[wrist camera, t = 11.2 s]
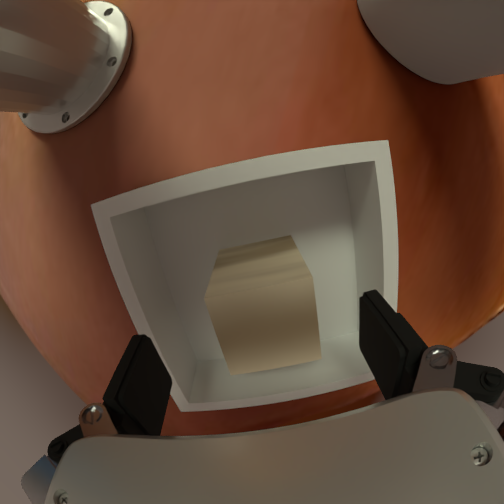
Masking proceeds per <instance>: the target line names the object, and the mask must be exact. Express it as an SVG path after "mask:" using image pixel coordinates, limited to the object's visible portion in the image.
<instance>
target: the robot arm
mask: <svg viewBox="0 0 504 504" xmlns="http://www.w3.org/2000/svg"><path fill="white" fill-rule="evenodd" d="M131 43H132V30H131V26H130V22H129V20H128V18H127V16H126V15H125V13H124V12H123V11H122V10H121V9H120V8H119V7H117V6H116V5H114V4H112V3H110V2H105V1H91V2H86V3H83V2H81V1H80V0H0V111H4V112H18V115H19V117H20V119H21V120H22V122H23V123H24V124H25V125H26V126H27V127H28V128H29V129H31V130H33V131H35V132H38V133H58V132H62V131H66V130H68V129H70V128H72V127H74V126H76V125H77V124H79V123H80V122H81V121H83V120H84V119H86V118H87V117H88V116H89V115H90V114H91V113H92V112H94V111H95V110H96V109H97V108H98V107H99V106H100V104H101V103H102V102H103V101H104V100H105V98H106V97H107V96H108V95H109V93H110V92H111V90H112V89H113V87H114V86H115V84H116V83H117V81H118V79H119V77H120V75H121V73H122V72H123V70H124V67H125V64H126V62H127V59H128V56H129V52H130V48H131ZM359 347H360V351H361V353H362V354H363V356H364V358H365V360H366V362H367V364H368V366H369V368H370V370H371V372H372V374H373V376H374V378H375V380H376V382H377V384H378V386H379V388H380V390H381V392H382V394H383V395H384V398H385V401H382V402H379V403H376V404H373V405H369V406H366V407H363V408H360V409H357V410H353V411H349V412H345V413H342V414H338V415H334V416H331V417H327V418H322V419H318V420H314V421H309V422H305V423H300V424H295V425H290V426H284V427H278V428H272V429H265V430H258V431H250V432H241V433H231V434H218V435H200V436H160V434H161V429H162V425H163V421H164V416H165V412H166V408H167V404H168V400H169V396H170V391H171V387H172V378H171V376H170V374H169V372H168V371H167V369H166V367H165V365H164V363H163V361H162V359H161V358H160V356H159V354H158V352H157V350H156V348H155V346H154V344H153V342H152V340H151V338H150V337H147V336H146V335H145V334H142V335H134V336H133V337H132V338H131V340H130V342H129V344H128V346H127V348H126V350H125V352H124V354H123V356H122V358H121V360H120V362H119V364H118V366H117V368H116V370H115V372H114V375H113V377H112V379H111V381H110V383H109V385H108V387H107V389H106V392H105V394H104V396H103V398H102V399H103V400H104V402H103V404H101V403H91V404H89V405H87V406H86V407H84V408H83V410H82V411H81V412H80V415H79V423H80V424H79V425H77V426H76V427H74V428H73V429H71V430H69V431H67V432H66V433H64V434H62V435H60V436H59V437H57V438H55V439H54V440H52V442H51V443H50V444H49V446H48V456H46V455H44V456H43V457H41V458H40V460H38V461H37V462H36V463H35V464H34V465H33V466H32V467H31V468H30V469H29V470H28V471H27V472H26V473H25V474H24V475H23V477H22V480H21V485H22V488H23V489H24V491H25V493H26V494H27V496H28V498H29V499H30V501H31V502H32V504H504V373H503V372H502V371H501V370H499V369H497V368H494V367H488V366H482V365H476V364H471V363H465V362H460V361H457V356H456V354H455V352H454V351H453V350H452V349H451V348H449V347H447V346H444V345H435V346H431V347H429V348H428V346H427V345H426V344H425V343H424V341H423V340H422V339H421V338H420V336H419V335H418V334H417V333H416V332H415V330H414V329H413V328H412V327H411V325H410V324H409V323H408V322H407V321H406V319H405V318H404V317H403V316H402V315H401V314H400V313H396V312H395V311H394V310H393V308H392V307H391V306H390V305H389V304H388V302H387V301H386V300H385V299H384V298H383V297H382V295H381V294H380V293H379V292H378V291H377V290H376V289H374V290H370V291H367V292H364V293H363V296H361V297H360V298H359Z"/></svg>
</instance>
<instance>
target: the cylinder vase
mask: <svg viewBox="0 0 504 504" xmlns="http://www.w3.org/2000/svg"><path fill="white" fill-rule="evenodd" d="M357 3H358V7H359V10H360V13H361V15H362V17H363V19H364V21H365V23H366V25H367V26H368V28H369V29H370V31H371V32H372V34H373V35H374V37H375V38H376V39H377V40H378V42H379V43H380V44H381V45H382V46H383V47H384V48H385V49H386V50H387V51H388V52H389V53H390V54H391V55H392V56H393V57H394V58H395V59H396V60H397V61H399V62H400V63H401V64H402V65H404V66H405V67H406V68H408V69H409V70H411V71H412V72H414V73H415V74H417V75H419V76H421V77H423V78H425V79H427V80H430V81H433V82H436V83H440V84H456V83H460V82H465V81H469V80H473V79H478V78H483V77H488V76H493V75H499V74H504V0H357Z"/></svg>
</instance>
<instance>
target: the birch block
mask: <svg viewBox="0 0 504 504" xmlns="http://www.w3.org/2000/svg"><path fill="white" fill-rule="evenodd" d="M204 300H205V303H206V306H207V309H208V312H209V315H210V318H211V321H212V324H213V327H214V330H215V333H216V336H217V338H218V341H219V344H220V347H221V350H222V352H223V355H224V358H225V361H226V363H227V366H228V369H229V371H230V374H231V375H237V374H244V373H251V372H258V371H264V370H270V369H275V368H281V367H286V366H291V365H296V364H301V363H306V362H310V361H315V360H319V359H322V357H321V346H320V335H319V326H318V316H317V307H316V299H315V291H314V283H313V277H312V275H311V273H310V271H309V269H308V267H307V265H306V263H305V261H304V259H303V257H302V255H301V254H300V252H299V250H298V248H297V246H296V244H295V242H294V240H293V239H292V237H291V235H289V236H284V237H279V238H274V239H269V240H264V241H259V242H254V243H250V244H245V245H240V246H235V247H230V248H225V249H221V250H219V252H218V255H217V258H216V262H215V265H214V268H213V271H212V274H211V277H210V281H209V284H208V287H207V290H206V293H205V297H204Z"/></svg>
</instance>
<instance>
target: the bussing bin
mask: <svg viewBox="0 0 504 504" xmlns="http://www.w3.org/2000/svg"><path fill="white" fill-rule="evenodd" d="M91 208H92V212H93V215H94V219H95V222H96V225H97V229H98V232H99V235H100V238H101V241H102V245H103V248H104V251H105V253H106V256H107V259H108V262H109V265H110V268H111V270H112V273H113V276H114V278H115V281H116V283H117V286H118V289H119V291H120V293H121V296H122V298H123V301H124V303H125V305H126V308H127V310H128V312H129V315H130V317H131V319H132V321H133V324H134V326H135V328H136V330H137V332H138V334H139V335H142V334H145V335H146V336H147V337H150V338H151V340H152V342H153V344H154V346H155V348H156V350H157V352H158V354H159V356H160V358H161V359H162V361H163V363H164V365H165V367H166V369H167V371H168V372H169V374H170V376H171V378H172V387H171V391H170V394H171V396H172V398H173V399H174V401H175V403H176V404H177V406H178V408H179V409H180V411H181V412H188V411H209V410H222V409H233V408H242V407H251V406H258V405H265V404H272V403H278V402H284V401H290V400H295V399H300V398H305V397H310V396H314V395H319V394H323V393H327V392H331V391H335V390H339V389H343V388H347V387H350V386H354V385H357V384H361V383H364V382H367V381H371V380H374V379H375V378H374V376H373V374H372V372H371V370H370V368H369V366H368V364H367V362H366V360H365V358H364V356H363V354H362V353H361V351H360V347H359V298H360V297H361V296H363V293H364V292H367V291H370V290H374V289H376V290H377V291H378V292H379V293H380V294H381V295H382V297H383V298H384V299H385V300H386V301H387V302H388V304H389V305H390V306H391V307H392V308H393V310H394V311H395V312H396V313H397V297H398V227H397V210H396V198H395V187H394V178H393V170H392V163H391V156H390V149H389V143H388V140H382V141H370V142H360V143H350V144H342V145H333V146H326V147H319V148H312V149H305V150H299V151H292V152H287V153H281V154H275V155H270V156H264V157H259V158H254V159H249V160H245V161H240V162H235V163H231V164H226V165H222V166H218V167H214V168H209V169H205V170H201V171H197V172H193V173H190V174H186V175H182V176H179V177H175V178H171V179H168V180H164V181H161V182H157V183H154V184H151V185H147V186H144V187H141V188H138V189H135V190H132V191H129V192H125V193H122V194H119V195H117V196H114V197H111V198H108V199H105V200H102V201H99V202H97V203H94V204H91ZM289 235H291V237H292V239H293V240H294V242H295V244H296V246H297V248H298V250H299V252H300V254H301V255H302V257H303V259H304V261H305V263H306V265H307V267H308V269H309V271H310V273H311V275H312V277H313V283H314V291H315V299H316V307H317V316H318V326H319V335H320V346H321V357H322V359H319V360H315V361H310V362H306V363H301V364H296V365H291V366H286V367H281V368H275V369H270V370H264V371H258V372H251V373H244V374H237V375H231V374H230V371H229V369H228V366H227V363H226V361H225V358H224V355H223V352H222V350H221V347H220V344H219V341H218V338H217V336H216V333H215V330H214V327H213V324H212V321H211V318H210V315H209V312H208V309H207V306H206V303H205V300H204V297H205V293H206V290H207V287H208V284H209V281H210V277H211V274H212V271H213V268H214V265H215V262H216V258H217V255H218V252H219V250H221V249H225V248H230V247H235V246H240V245H245V244H250V243H254V242H259V241H264V240H269V239H274V238H279V237H284V236H289Z"/></svg>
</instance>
